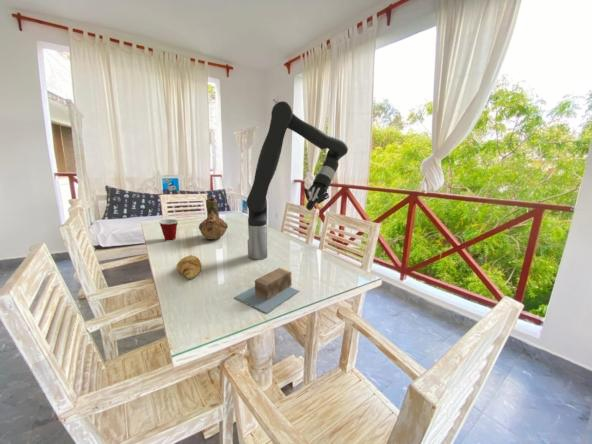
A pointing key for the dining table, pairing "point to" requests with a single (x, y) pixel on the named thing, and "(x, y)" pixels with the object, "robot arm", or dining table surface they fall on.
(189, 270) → the croissant
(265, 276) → the walnut block
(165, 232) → the plastic cup
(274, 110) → the robot arm
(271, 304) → the slate mat
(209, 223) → the ceramic vessel
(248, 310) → the dining table surface
